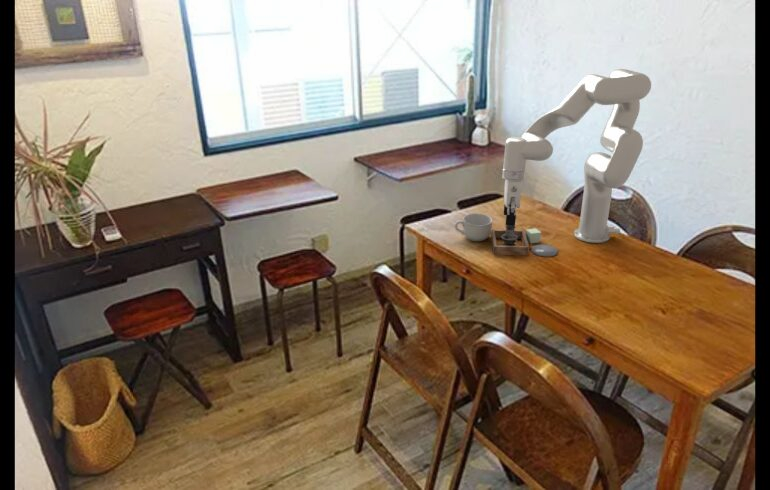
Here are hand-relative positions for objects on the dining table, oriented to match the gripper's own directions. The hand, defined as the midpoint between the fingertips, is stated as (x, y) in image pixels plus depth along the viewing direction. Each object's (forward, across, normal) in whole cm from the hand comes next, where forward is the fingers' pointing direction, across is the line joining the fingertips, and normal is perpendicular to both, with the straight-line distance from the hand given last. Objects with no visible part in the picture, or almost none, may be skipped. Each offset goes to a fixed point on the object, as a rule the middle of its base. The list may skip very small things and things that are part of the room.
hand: (509, 220), depth 203 cm
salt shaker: (+10, 0, -1) cm, 10 cm away
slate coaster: (+10, -4, -13) cm, 17 cm away
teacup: (+11, +6, +12) cm, 17 cm away
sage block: (+10, +5, -10) cm, 15 cm away
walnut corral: (+10, 0, -1) cm, 10 cm away
